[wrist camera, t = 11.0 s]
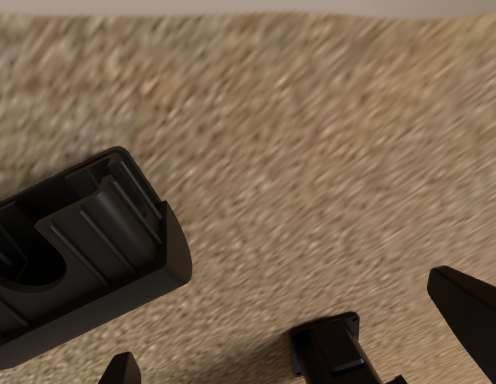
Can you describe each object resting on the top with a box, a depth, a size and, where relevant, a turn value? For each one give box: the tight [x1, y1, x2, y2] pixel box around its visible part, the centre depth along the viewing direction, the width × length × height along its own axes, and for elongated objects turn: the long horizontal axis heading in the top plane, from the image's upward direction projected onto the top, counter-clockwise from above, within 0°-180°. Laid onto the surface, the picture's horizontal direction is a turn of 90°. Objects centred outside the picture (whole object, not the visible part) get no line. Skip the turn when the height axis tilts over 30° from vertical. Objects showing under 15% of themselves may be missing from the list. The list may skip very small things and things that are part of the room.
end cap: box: [0, 146, 192, 370], centre depth 17 cm, size 10×7×7 cm
